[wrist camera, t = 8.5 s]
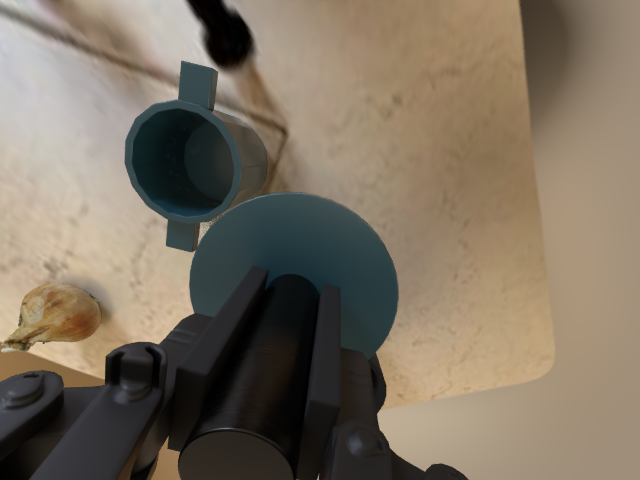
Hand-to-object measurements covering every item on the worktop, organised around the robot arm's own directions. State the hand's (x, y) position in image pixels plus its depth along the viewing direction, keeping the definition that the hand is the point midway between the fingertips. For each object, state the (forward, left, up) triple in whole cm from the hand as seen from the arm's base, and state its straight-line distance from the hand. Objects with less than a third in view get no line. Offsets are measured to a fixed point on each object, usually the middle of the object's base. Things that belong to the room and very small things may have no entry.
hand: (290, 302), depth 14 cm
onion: (+26, +18, -19) cm, 37 cm away
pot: (+11, -3, -19) cm, 22 cm away
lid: (0, 0, -1) cm, 1 cm away
